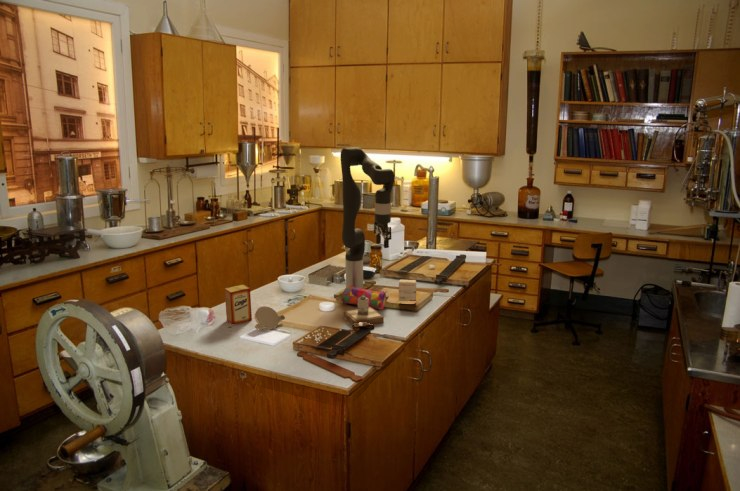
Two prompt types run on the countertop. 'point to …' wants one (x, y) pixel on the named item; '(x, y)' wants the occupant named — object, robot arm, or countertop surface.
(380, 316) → the tray
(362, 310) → the weight
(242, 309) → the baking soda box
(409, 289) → the ink box
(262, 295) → the countertop surface
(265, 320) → the grey-brown rounded piece
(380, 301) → the pencil case
